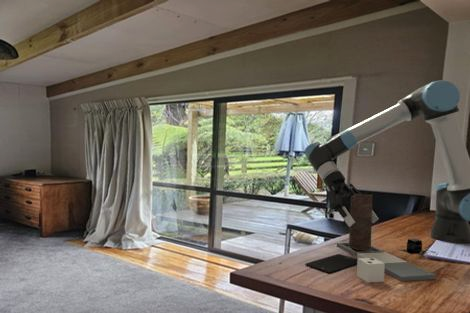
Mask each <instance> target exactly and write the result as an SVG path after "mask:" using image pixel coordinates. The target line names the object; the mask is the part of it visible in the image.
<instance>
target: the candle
mask: <svg viewBox="0 0 470 313" xmlns="http://www.w3.org/2000/svg"><path fill="white" fill-rule="evenodd" d="M362 194H363V193H362ZM362 194H354V195H352V196H351V199H350V209H349V211H350V212H349V214H350V215H351V217H352V218H353V220H354V221H355V223H354V224H353V225H352V226H351V227H349V232H348V237H349V238H348V242H349V246H348V248H350V249H352V250H354V251H360V252H363V251H372V250H371V246H372V228H373V226H372V224H373V223H372V210H373V194H367V193H365V194H363V195H362Z"/></svg>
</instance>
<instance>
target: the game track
mask: <svg viewBox="0 0 470 313" xmlns="http://www.w3.org/2000/svg"><path fill="white" fill-rule="evenodd" d="M337 246H338V247H337ZM336 247H337V248H339V247H340V248H339V249H342V250H344V251H345V252H347V253H349V254H350V255H353V256H354V257H356V258H357V259H358V258H375V259H377V260H379V261H381V262H383V263H385V268H384V274H385V273H386V274H387V275H389V276H391V277H392V278H394V279H396V280H398V281H401V282H406V281H407V282H409V281H423V280H424V281H425V280H436V274H435V273H432V272H431V271H428V270H426V269H423V268H421V267H419V266H417V265H415V264H412V263H410V262H408V261H406V260H403V259H402V258H399V257H397V256H395V255H393V254H391V253H388V252H385V251H384V250H382V249H379V248H377V247H375V246H373V245H371V251H357V250H355V249H351V248H350V247H349V241H348V242H336Z"/></svg>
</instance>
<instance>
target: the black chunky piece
mask: <svg viewBox="0 0 470 313" xmlns="http://www.w3.org/2000/svg"><path fill="white" fill-rule="evenodd" d="M399 251H401V252H404V253H406V254H410V255H416V254H417V255H419V254H424V252H426V251H427V250H426V251H425V249H423V241H422V240H421V239H418V238H408V239H407V241H406V248H403V249H399ZM426 253H427V252H426Z"/></svg>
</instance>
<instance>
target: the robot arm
mask: <svg viewBox="0 0 470 313" xmlns="http://www.w3.org/2000/svg"><path fill="white" fill-rule="evenodd" d="M460 98H461V93H460V90H459V87H457V86H456V84H454V83H453V82H451V81H448V80H443V79H440V80H435V81H432V82H430V83H429V82H428V83H427V84H425V85H423V86H421V87H418V88H417V89H416V90H414V91H413V92H411V93H410V94H408V95H406V96H405V97H403V98H401V99H400V100H398V101H397V103H396V104H395V105H393V106H391V107H388V108H387V109H385V110H383V111H380V112H378V113H377V114H374V115H373V116H371V117H369V118H367V119H365V120H362V121H361V122H359V123H357V124H355V125H353V126H351V127H348V128H347V129H344V130H343V131H340V132H338V133H337V134H335V135H332V136H330V137H328V138H327V139H326V142H324V143H320V142H318V141H314V142H311V143H309V144H308V145H307V146H306V147H305V150H304V155H305V156H306V158H307V160H308V161H309V163H310V164H311V165H312V167H313V169H314V170H315V172H316V173H317V174H318V176H319V178H320V179H321V180H322V181H323V183H324V185H325V189H324V190H325V192H326V194H327V198H328V201H329V202H328V203H329V205H330V209H331V210H333V211H334V213H337V212H338V213H339V215H340V217H341V218H342V219H343V220H344V222H345V224H346V225H347V226H348V228H350V227H351V226H352V225H353V224H354V223H355V221H354V220H353V218H352V217H351V215H350V212H349V211H348V210H347V208H346V207H345V206H343V198H347V199H350V200H351V196H352V195H354V194H362V195H363V193H362V192H360V191H359V189H357V188H356V187H355V185H353V183H349V184H347V183H346V177H345V175H344V174H343V173H342V172H341V171H340V169H339V167H338V166H337V164H336V163H335V162H334V161H333V160H335V159H337V158H338V157H341V156H342V155H343V154H345V153H347V152H348V151H351V150H352V149H353V148H355V147H356V146H357V145H358V144H359V143H362V142H363V141H366V140H367V139H370V138H371V137H375V136H377V135H378V134H381V133H382V132H384V131H386V130H389V129H391V128H392V127H395V126H396V125H399V124H401V123H403V122H405V121H407V122H410V121H411V122H412V121H413V120H416V119H417V118H420V117H423V119H424V121H425V123H428V124H430V126H431V128H432V132H433V135H434V139H435V141H436V144H437V148H438V150H439V154H440V157H441V160H442V164H443V166H444V170H445V173H446V175H447V179H448V181H449V182H448V183H447V182H445V183H438V185H437V186H436V190H435V192H436V194H435V195H436V198H435V219H434V221H433V224H432V227H431V228H430V230H429V237H430V238H432V239H435V240H439V241H443V242H448V243H455V244H470V224H469V222H470V156H469V152H468V149H467V146H466V144H465V140H464V137H463V134H462V130H461V128H460V125H459V121H458V119H457V116H458V115H459V113H460V108H459V105H458V104H459V101H460ZM378 220H379V217H378V216H377V214H376V213H375V212H374V210H373V209H372V224H375V223H376V222H377V221H378Z"/></svg>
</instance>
